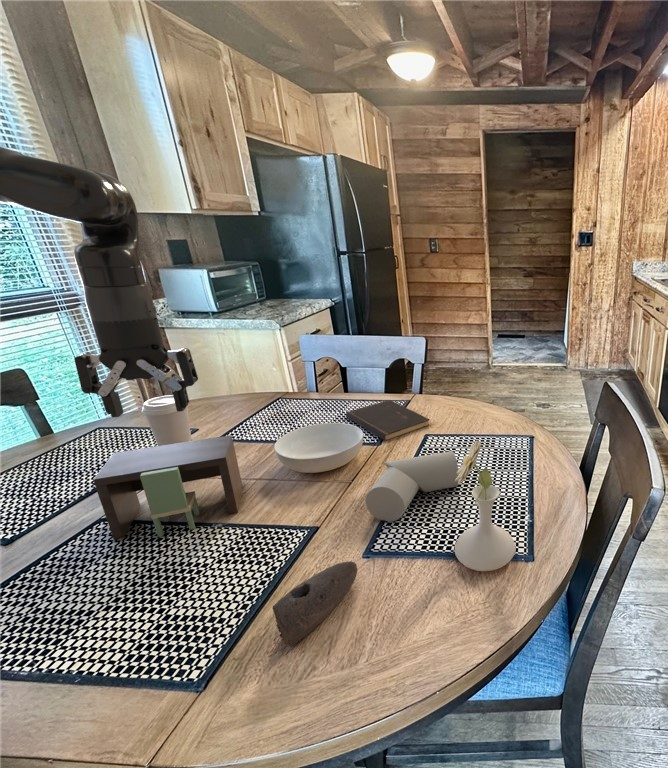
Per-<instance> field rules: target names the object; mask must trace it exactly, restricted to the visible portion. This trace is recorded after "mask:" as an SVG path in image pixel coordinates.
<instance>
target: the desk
mask: <svg viewBox="0 0 668 768" xmlns="http://www.w3.org/2000/svg"><path fill="white" fill-rule="evenodd" d="M174 467H178V468H179V472H180V476H181V479H182V483H189V482H193V481H195V482H196V481H199V480H204V479H210V478H215V477H220V479H221V483H222V488H223V492H224V496H225V500H226V505H227V509H228V514H229V515H233V514H238V513H239V511H240V510H239V509H240V503H241V497H242V492H243V482H242V477H241V472H240V467H239V463H238V458H237V453H236V449H235V444H234V440H233V435H223V436H218V437H210V438H204V439H197V440H192V441H189V442H183V443H176V444H169V445H163V446H158V445H156V446H151V447H144V448H137V449H131V450H124V451H117V452H113V453H112V455H111V456H110V457H109V459H108V460H107V461H106V463H104V465H103V466H102V467H101V469H100V471H98V473H97V474H96V475H95V476H94V478H93V479H92V481H93V484H94V486H95V490H96V492H97V495H98V498H99V501H100V504H101V507H102V510H103V513H104V515H105V519H106V522H107V525H108V526H109V530H110V533H111V536H112V538H113V540H114V541H116V540H121V539H125V537H126V535H127V533H128V531H129V530H130V527H131V525H132V524H133V522H134V521H135V518H136V517H137V514H138V512H139V510H140V509H141V507H142V505H141V503H140V499H139V495H138V493H137V492H140V491H144V488H143V485H142V481H141V478H140V475H141V473H144V472H150V471H156V470H162V469H168V468H174Z"/></svg>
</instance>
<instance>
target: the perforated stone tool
mask: <svg viewBox="0 0 668 768" xmlns="http://www.w3.org/2000/svg"><path fill="white" fill-rule="evenodd" d="M357 575H358V566H357V564H356V562H354V561H342V562H339V563H336V564H334V565H332V566H329V567H327V568H325V569H324V570H322V571H319V572H318V573H317V574H315V575H312V576H311V577H310V578H308V579H305V580H304V581H303V582H300V584H298V585H296V586H295V587H293V588H292V589H291V590H290V591H289V592H287V593H286V594H285V595H284V596H282V597H281V598H280V599H278V601H277V602H275V603H274V604H273V605H272V611H273V614H274V619H275V622H276V628H277V630H278V633H279V638H280V639H282V640H283V643H284V645H286V646H288V647H289V648H290V647H292V646H294V645H295V644H297V643H298V642H300V640H302V639H303V638H304V637H306V636H307V635H309V634H310V633H311V632H313V631H314V630H315V628H316V627H317V626H319V625H320V624H321V623H322V622H323V621H324V620H325V619H326V618H327V617H328V616H329V615H330V614H331V613H332V611H334V609H335V608H336V607H337V606H338V605H339V604H340V602H341V601H343V599H344V598H345V597H346V595H347V594H348V593H349V591H350V590H351V588H352V586H353V584H354V583H355V580H356V578H357Z"/></svg>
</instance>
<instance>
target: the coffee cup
mask: <svg viewBox="0 0 668 768" xmlns="http://www.w3.org/2000/svg"><path fill="white" fill-rule="evenodd" d="M189 406H190V404H189V405H188V406H187V407H186V409H185V410H184V411H180V412H178V411H177V409H176V405H175V401H174V397H173V394H167V395H161V396H157V397H152V398H150V399H147V400H146V401H145V402H143V406H142V407H141V414H142V415H144V416H145V418H146V421H147V423H148V425H149V428H150V430H151V433H152V435H153V437H154V440H155V442H156V446H163V445H169V444H176V443H183V442H189V441H193V440H192V432H191V424H190V418H189V409H188V407H189Z"/></svg>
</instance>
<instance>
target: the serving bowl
mask: <svg viewBox="0 0 668 768" xmlns="http://www.w3.org/2000/svg"><path fill="white" fill-rule="evenodd" d="M363 443H364V432H363V430H362V429H361V428H360V427H358V426H356V425H354V424H350V423H343V422H324V423H323V422H322V423H314V424H309V425H305V426H302V427H298V428H296V429H292V430H291V431H288V432H287V433H285V434H284V435H282V436H280V437H279V438H278V439H277V440H276V442H275V443H274V445H273V450H274V452H275V455H276V458H277V459H278V461H279V462H280V463H281V464H282V465H283V466H284V467H286V468H287V469H289V470H292V471H295V472H298V473H304V474H305V473H306V474H307V473H308V474H313V473H314V474H315V473H323V472H328V471H332V470H335V469H338V468H340V467H343V466H344V465H346V464H348V463H349V462H351V461H352V460H354V459H355V457H357V455H358V454H359V453H360V451H361V449H362V446H363Z"/></svg>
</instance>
